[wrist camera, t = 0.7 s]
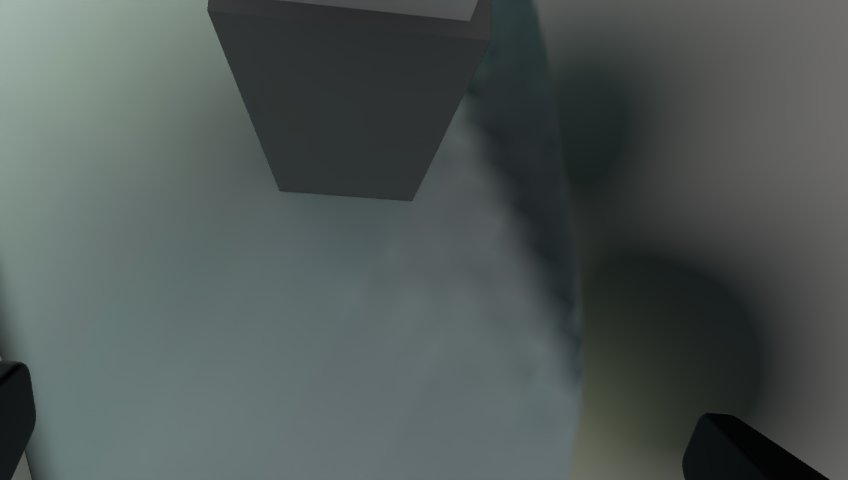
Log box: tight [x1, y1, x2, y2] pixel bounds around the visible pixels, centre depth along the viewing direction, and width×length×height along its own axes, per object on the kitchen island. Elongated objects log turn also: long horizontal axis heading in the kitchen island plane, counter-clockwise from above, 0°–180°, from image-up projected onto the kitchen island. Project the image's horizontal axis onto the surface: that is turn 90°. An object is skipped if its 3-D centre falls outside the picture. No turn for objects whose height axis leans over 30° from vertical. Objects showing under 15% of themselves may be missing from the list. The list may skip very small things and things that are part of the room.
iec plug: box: [207, 0, 491, 201], centre depth 16 cm, size 4×4×13 cm
